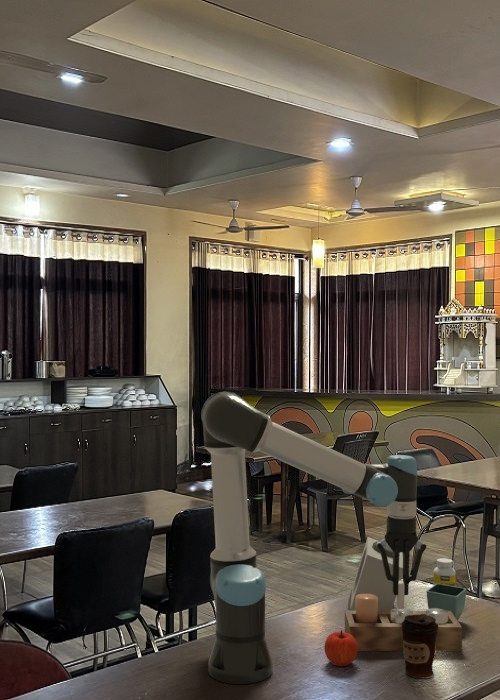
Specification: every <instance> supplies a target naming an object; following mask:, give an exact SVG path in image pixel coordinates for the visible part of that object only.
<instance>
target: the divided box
mask: <svg viewBox="0 0 500 700" xmlns="http://www.w3.org/2000/svg"><path fill="white" fill-rule="evenodd" d="M411 611H412V612H413V615H417V614H418V615H426V610H411ZM447 612H448V624H438V633H437V637H436V651H435V652H462V651H463V627H462V625H461V624H460V622H459V620H458V621H457V619H456V618H455V617H454V615H453V614H452V612H451V611H447ZM344 633H349V634H351V635H352V636H353V637H354V639H355V640H356V642H357V645H358V651H360V652H361V651H371V652H372V651H373V652H374V651H375V652H376V651H378V652H380V651H381V652H385V651H386V652H387V651H388V652H393V651H394V652H395V651H397V652H398V651H400V652H403V632H402V623H391V611H378V623H356V611H351V610H348V609H347V610H344Z"/></svg>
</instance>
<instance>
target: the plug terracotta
mask: <svg viewBox="0 0 500 700" xmlns="http://www.w3.org/2000/svg"><path fill="white" fill-rule="evenodd" d="M356 623H378V597H377V596H375V595H372V594H359V595H356Z"/></svg>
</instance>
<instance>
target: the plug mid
mask: <svg viewBox="0 0 500 700" xmlns="http://www.w3.org/2000/svg"><path fill="white" fill-rule="evenodd" d="M412 611H413V610H411V609H408V608H405V607H404V609H398V607H394V609H392V610H391V623H402V622H403V621H404V618H405V616H408V615H413V612H412Z"/></svg>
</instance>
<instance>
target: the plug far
mask: <svg viewBox="0 0 500 700" xmlns="http://www.w3.org/2000/svg"><path fill="white" fill-rule="evenodd" d="M425 611H426V615H427V616H431V617H433V618H435V619H436V621H435V623H437V624H448V612H447V611H446V610H443V609H438V608H430V609H428V608H427V609H425Z"/></svg>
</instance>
